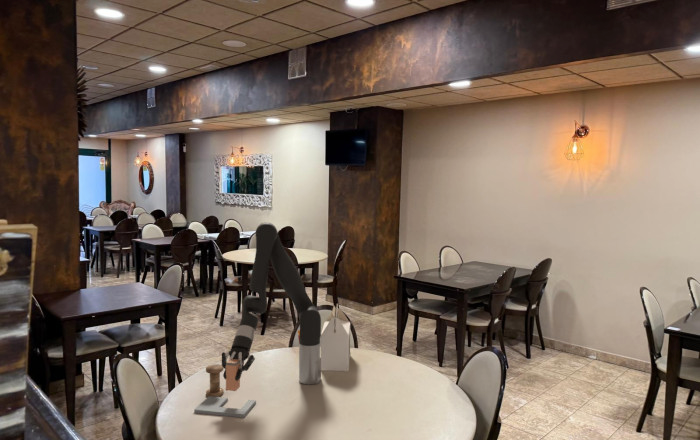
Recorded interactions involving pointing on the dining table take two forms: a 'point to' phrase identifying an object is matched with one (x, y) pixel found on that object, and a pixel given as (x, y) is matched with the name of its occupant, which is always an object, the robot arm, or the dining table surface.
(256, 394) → the dining table surface
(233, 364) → the orange tall block
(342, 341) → the gable box
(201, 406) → the notched board
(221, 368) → the bobbin
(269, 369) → the dining table surface
